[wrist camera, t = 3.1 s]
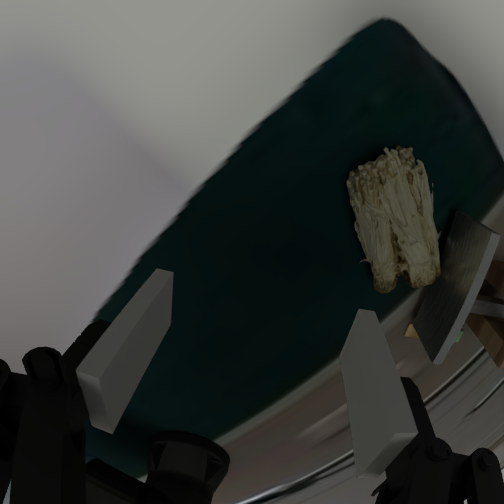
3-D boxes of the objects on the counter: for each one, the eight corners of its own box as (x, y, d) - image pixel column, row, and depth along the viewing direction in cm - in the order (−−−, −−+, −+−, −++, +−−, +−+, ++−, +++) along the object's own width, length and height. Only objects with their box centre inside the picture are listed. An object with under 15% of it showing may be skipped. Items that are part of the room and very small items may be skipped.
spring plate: (412, 325, 33) (432, 363, 26) (456, 210, 27) (492, 232, 21) (473, 333, 33) (496, 366, 26) (516, 232, 27) (551, 255, 21)
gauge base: (403, 334, 35) (429, 394, 25) (440, 244, 31) (488, 288, 21) (473, 342, 35) (505, 392, 25) (510, 264, 30) (557, 304, 20)
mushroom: (442, 258, 31) (463, 279, 26) (367, 285, 34) (378, 311, 29) (415, 131, 27) (438, 133, 22) (328, 158, 29) (337, 165, 24)
